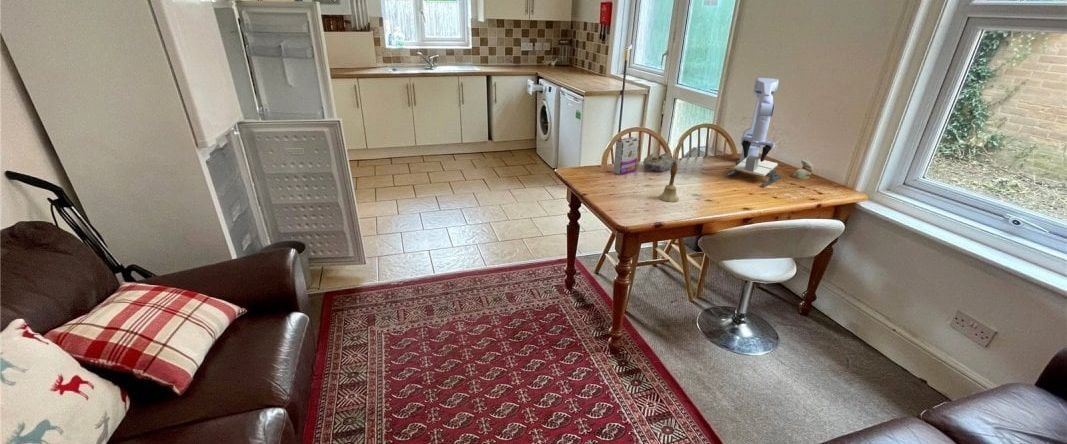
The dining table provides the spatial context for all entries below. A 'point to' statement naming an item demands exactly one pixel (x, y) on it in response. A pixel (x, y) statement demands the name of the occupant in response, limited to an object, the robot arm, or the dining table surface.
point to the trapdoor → (762, 168)
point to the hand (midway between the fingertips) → (753, 159)
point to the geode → (659, 162)
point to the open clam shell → (804, 170)
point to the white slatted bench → (772, 175)
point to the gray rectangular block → (751, 163)
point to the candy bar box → (626, 155)
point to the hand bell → (670, 187)
